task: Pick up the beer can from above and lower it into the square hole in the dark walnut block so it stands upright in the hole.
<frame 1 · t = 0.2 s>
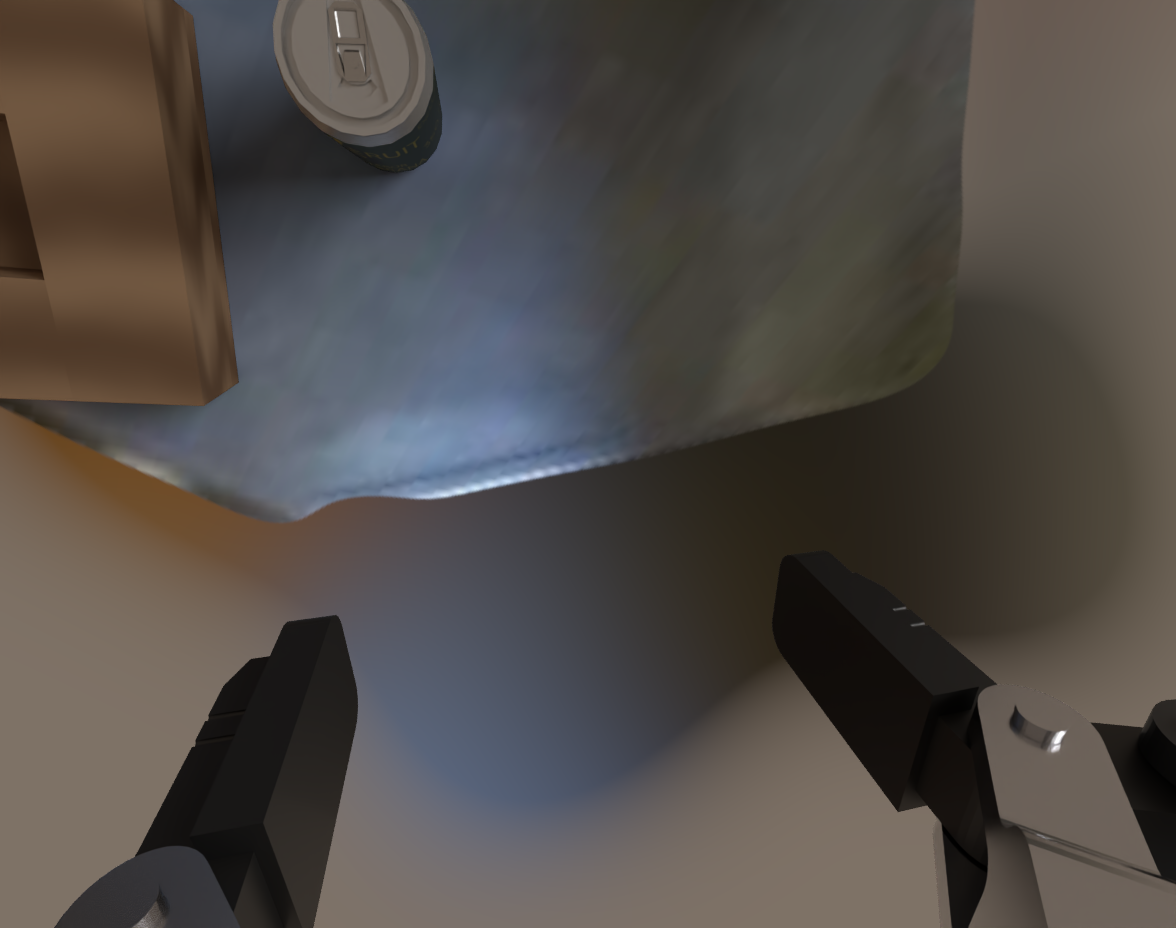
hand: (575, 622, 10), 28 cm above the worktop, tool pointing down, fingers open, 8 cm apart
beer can: (391, 118, 30), on the worktop
socket block: (16, 197, 28), on the worktop
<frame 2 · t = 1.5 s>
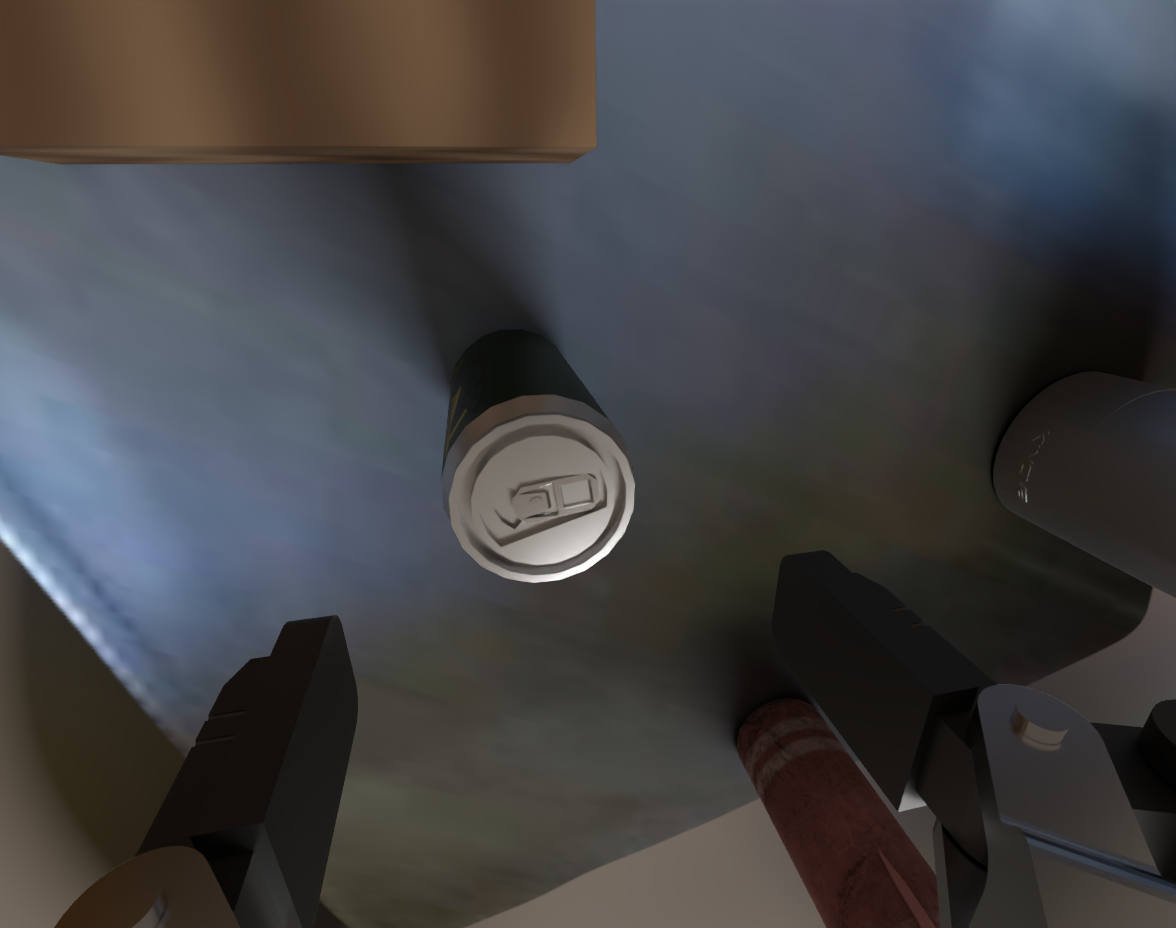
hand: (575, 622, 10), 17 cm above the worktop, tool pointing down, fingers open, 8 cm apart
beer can: (511, 384, 26), on the worktop
can: (773, 724, 38), on the worktop
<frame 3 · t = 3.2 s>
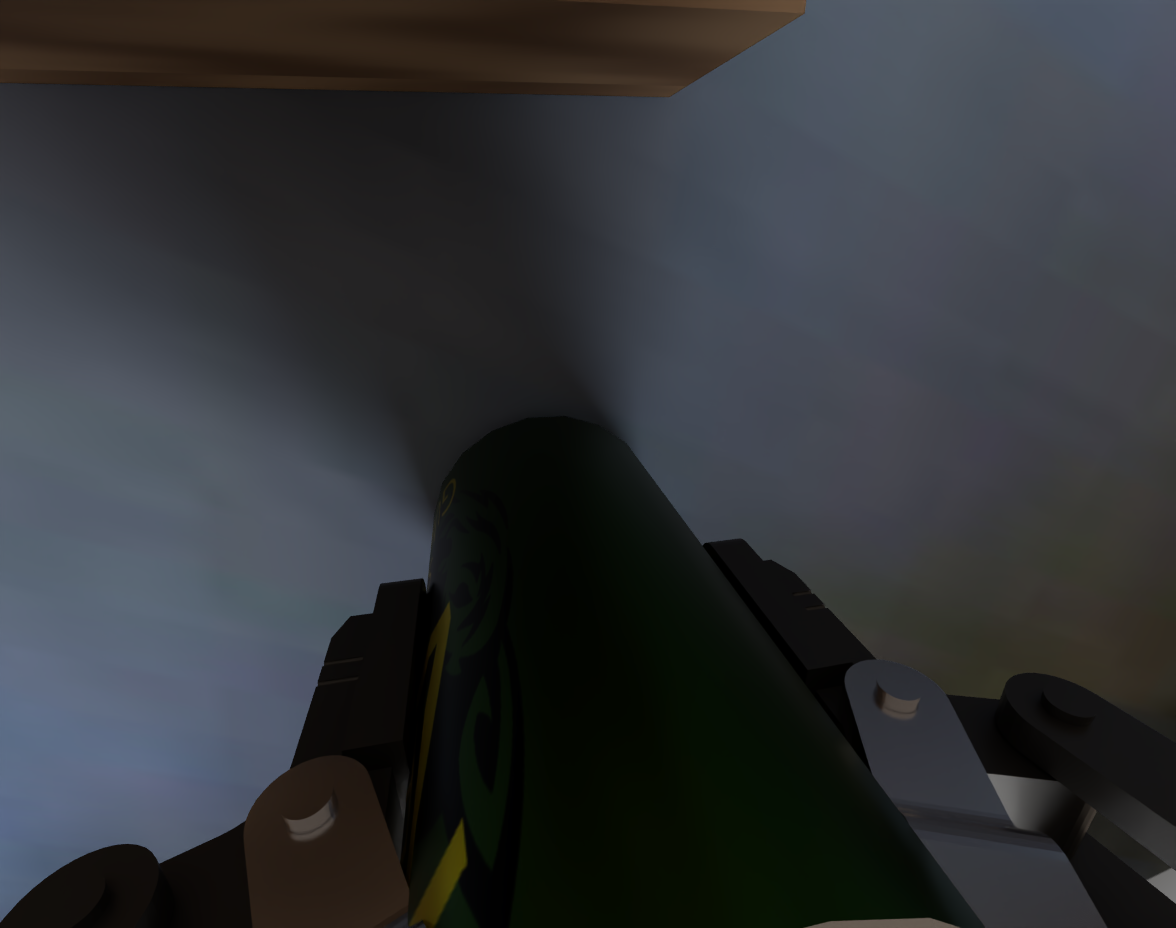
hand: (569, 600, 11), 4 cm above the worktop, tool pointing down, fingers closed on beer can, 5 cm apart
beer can: (542, 503, 15), on the worktop, touching gripper
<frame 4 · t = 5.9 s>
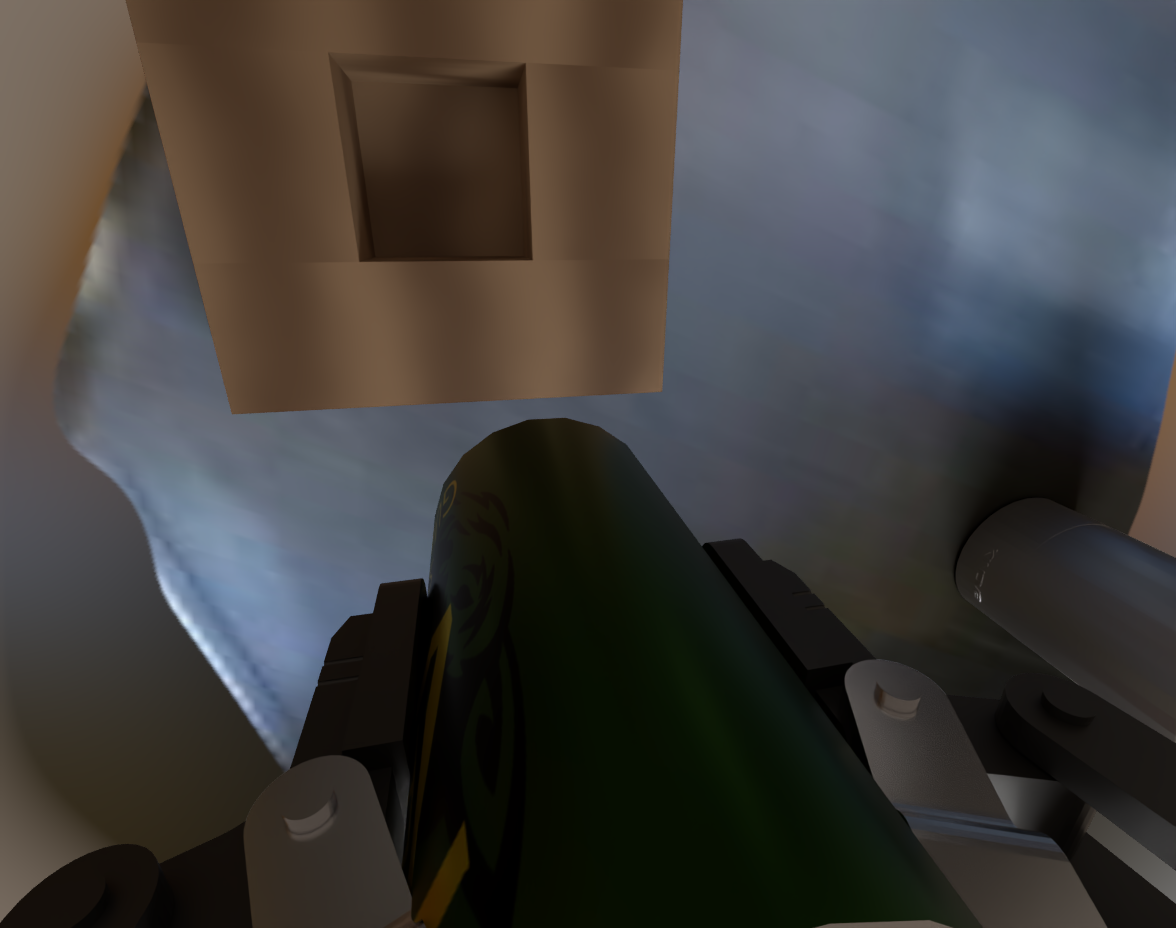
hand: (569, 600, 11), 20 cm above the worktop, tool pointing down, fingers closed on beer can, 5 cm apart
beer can: (543, 504, 15), point 16 cm above the worktop, touching gripper
socket block: (445, 177, 25), on the worktop
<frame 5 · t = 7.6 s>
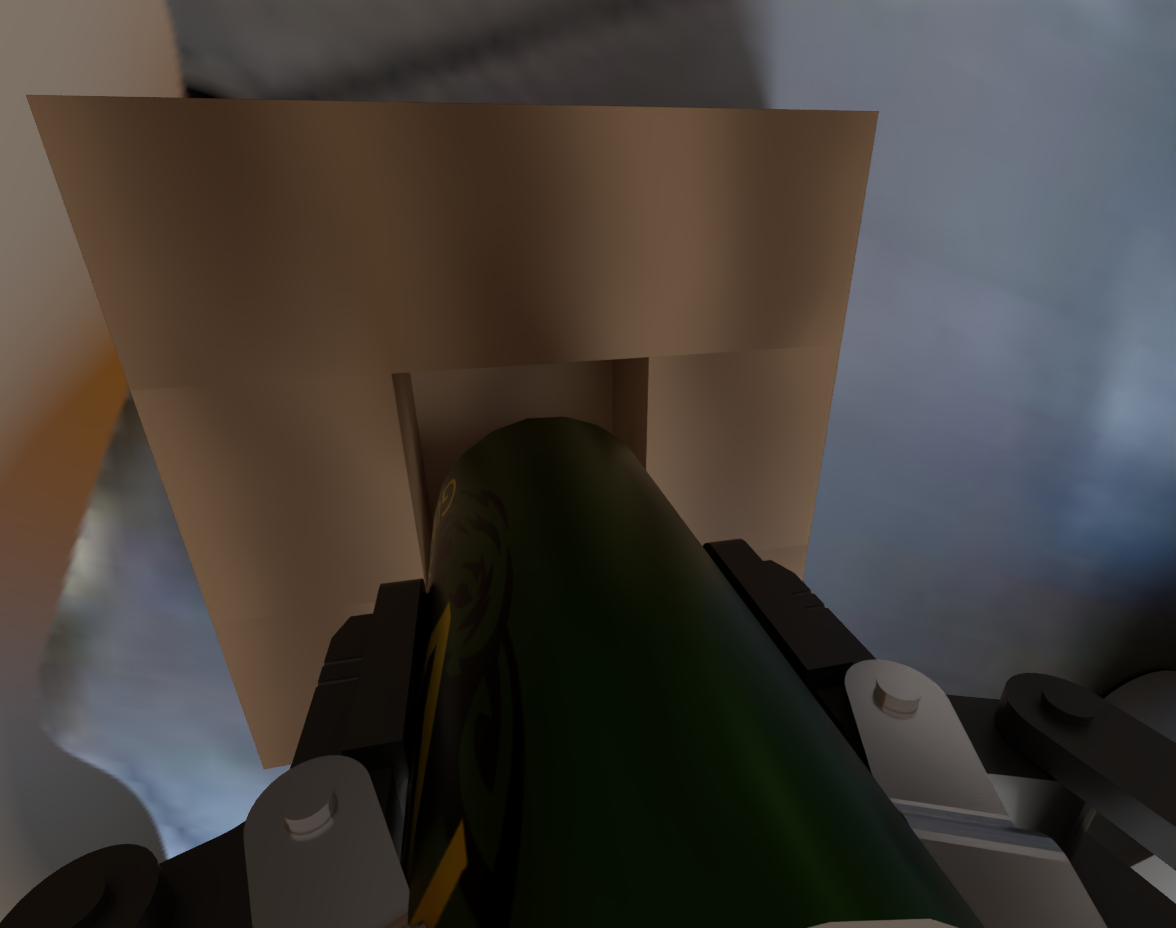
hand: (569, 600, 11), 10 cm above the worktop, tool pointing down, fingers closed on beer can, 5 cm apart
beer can: (542, 503, 15), point 6 cm above the worktop, touching gripper
socket block: (516, 423, 20), on the worktop
when the fingers open (7 cm above the worktop, at t = 8.9 s): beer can drops 2 cm, resting on socket block.
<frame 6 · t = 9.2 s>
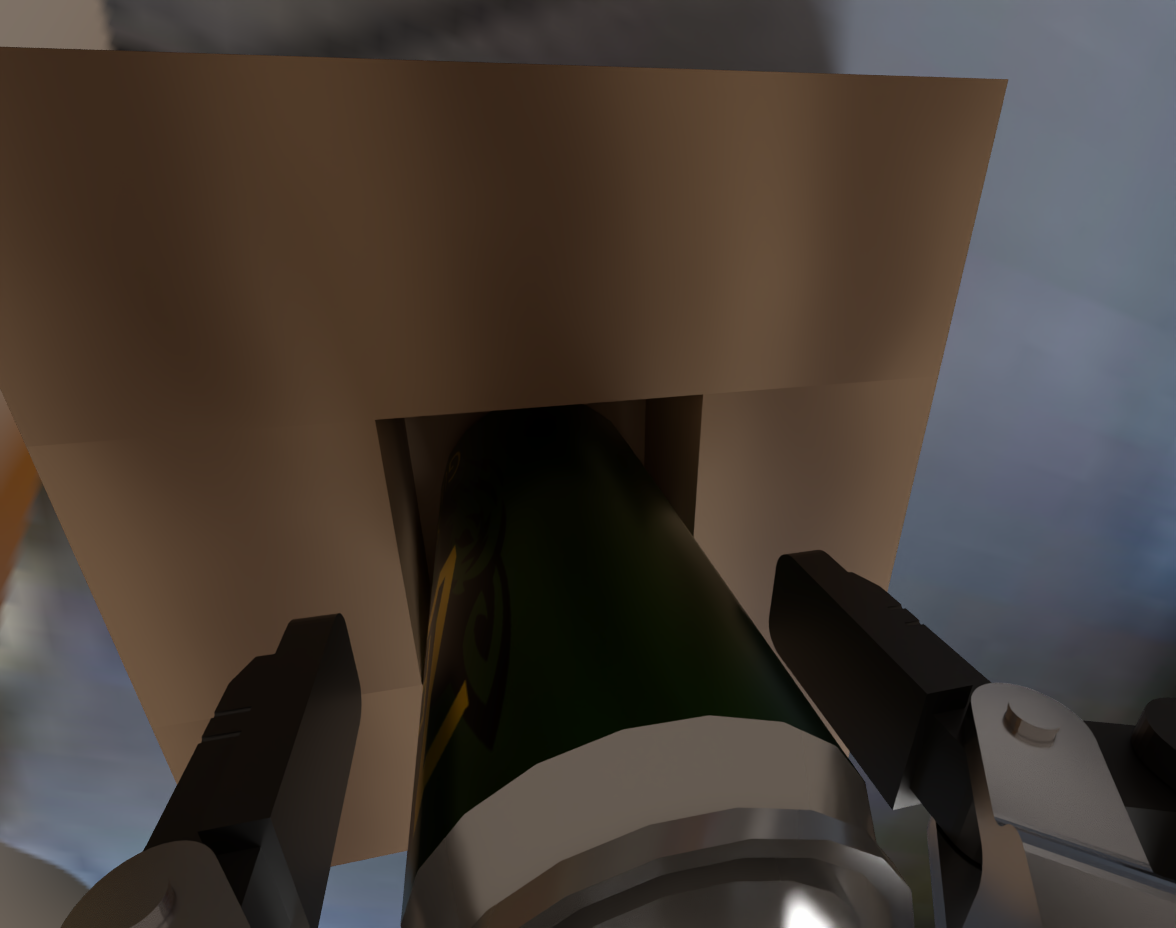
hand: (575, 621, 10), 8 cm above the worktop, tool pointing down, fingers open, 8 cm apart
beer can: (538, 475, 16), point 1 cm above the worktop, touching socket block
socket block: (530, 462, 17), on the worktop
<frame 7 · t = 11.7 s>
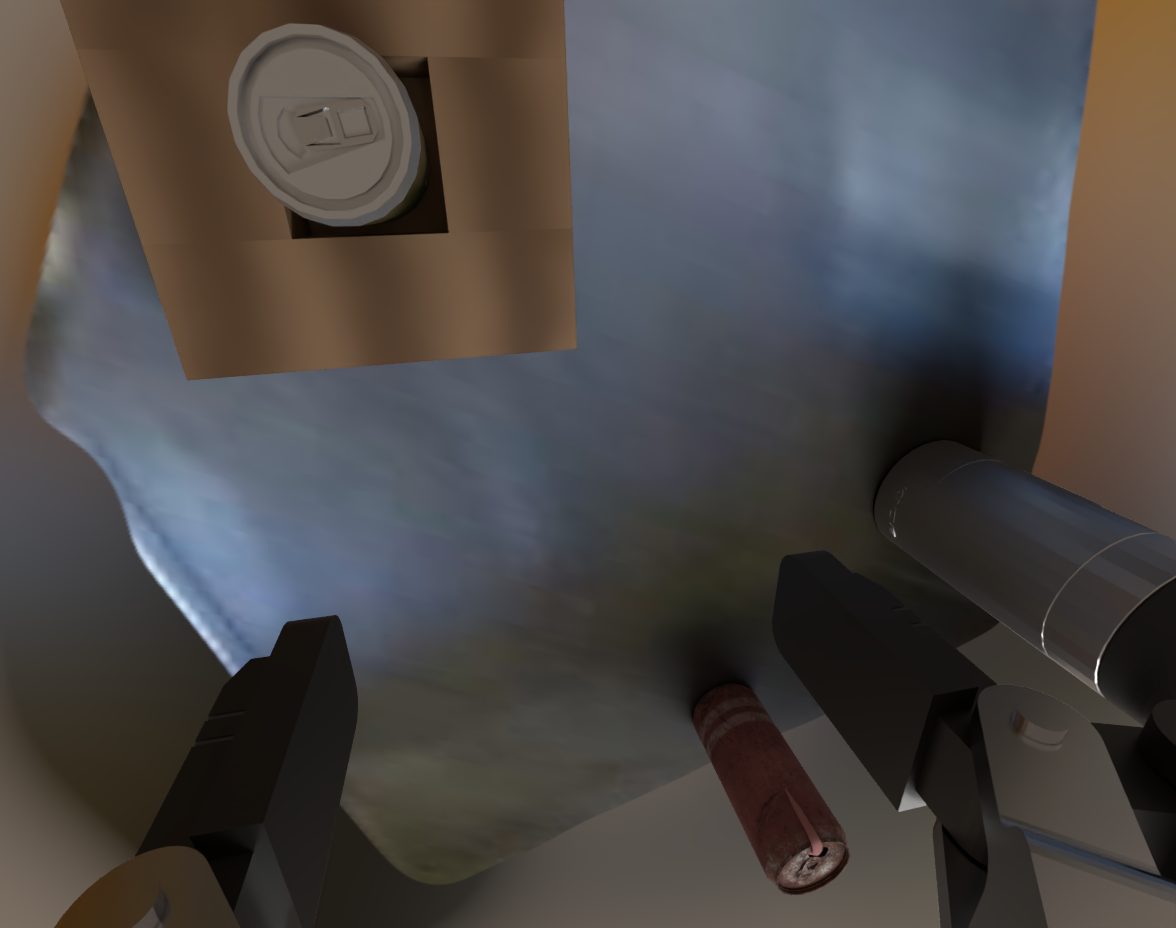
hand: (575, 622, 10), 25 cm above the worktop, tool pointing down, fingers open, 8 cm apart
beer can: (373, 161, 27), point 1 cm above the worktop, touching socket block
can: (721, 704, 50), on the worktop
socket block: (371, 160, 28), on the worktop
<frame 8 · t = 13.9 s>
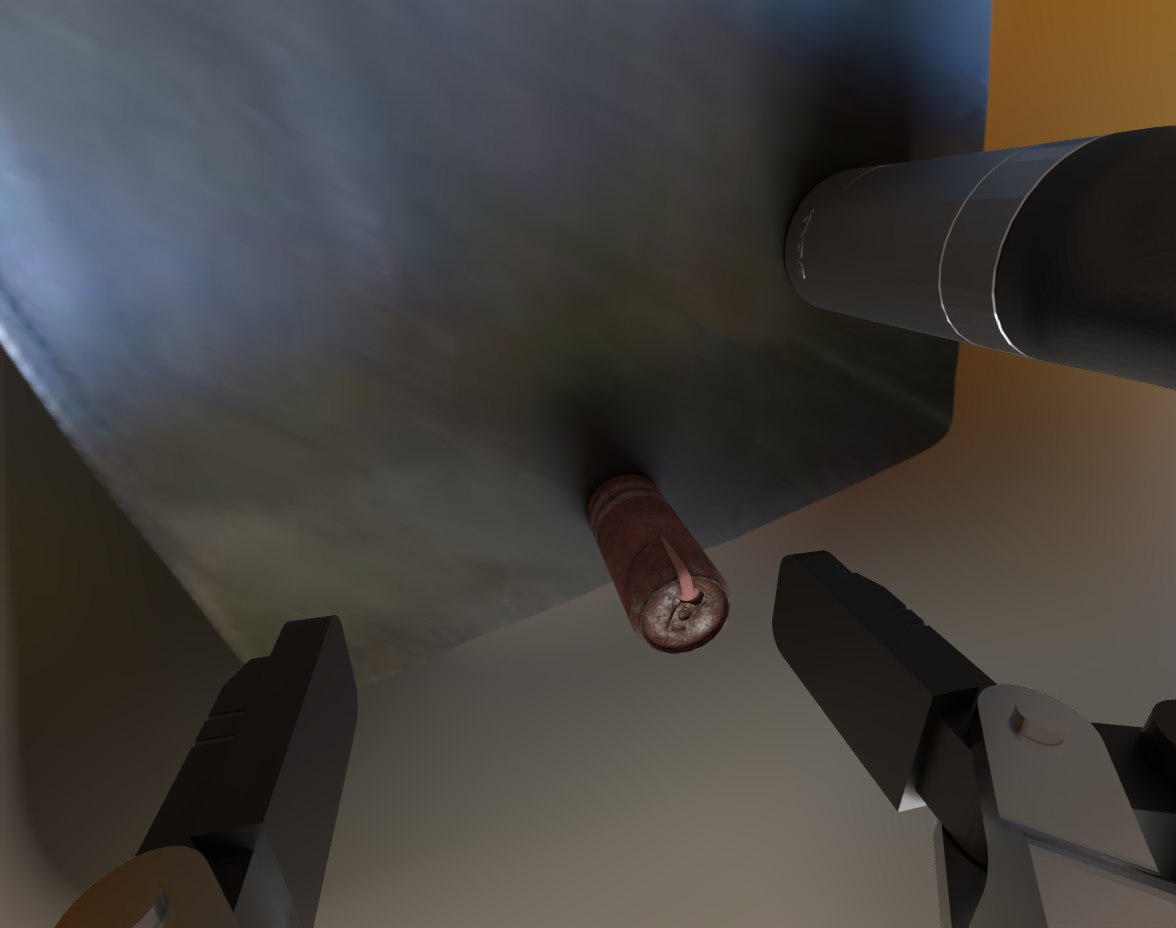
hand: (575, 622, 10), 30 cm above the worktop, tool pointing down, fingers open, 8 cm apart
can: (622, 503, 45), on the worktop
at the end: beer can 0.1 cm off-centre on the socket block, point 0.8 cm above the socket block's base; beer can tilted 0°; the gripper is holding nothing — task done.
